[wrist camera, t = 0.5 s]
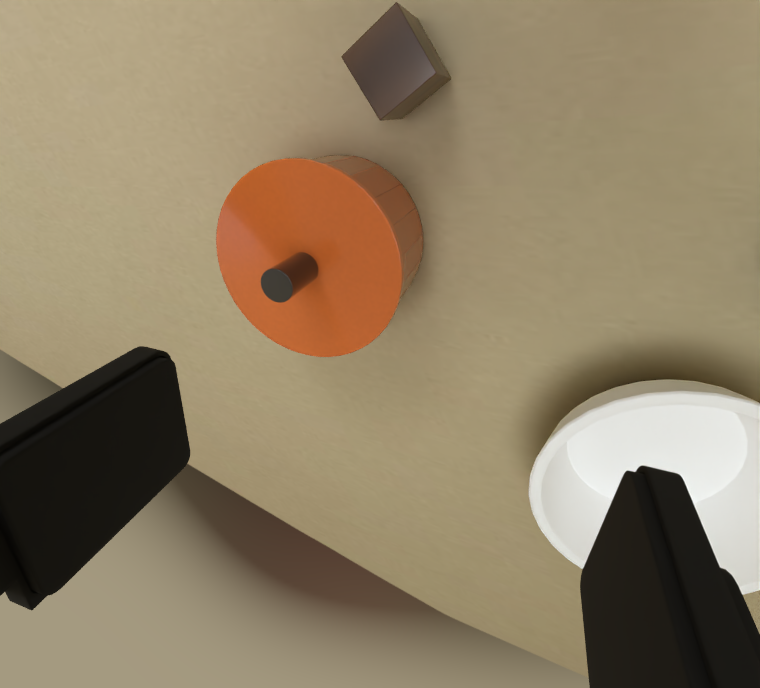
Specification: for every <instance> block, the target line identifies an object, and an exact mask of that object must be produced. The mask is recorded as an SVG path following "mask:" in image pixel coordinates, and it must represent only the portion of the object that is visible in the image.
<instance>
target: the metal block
mask: <svg viewBox="0 0 760 688" xmlns="http://www.w3.org/2000/svg"><path fill="white" fill-rule="evenodd" d="M342 59H343V60H344V62H345V64H346V65H347V67H348V69H349V70H350V72H351V74H352V75H353V77H354V78H355V80H356V82H357V83H358V85H359V87H360V88H361V90H362V92H363V93H364V95H365V96H366V98H367V100H368V101H369V103H370V105H371V106H372V108H373V110H374V111H375V113H376V114H377V116H378V118H379V119H380V120H396V119H402V118H404V117H405V116H406V115H407V114H409V113H410V112H411V111H412V110H413V109H415V108H416V107H417V106H418V105H420V104H421V103H422V102H423V101H425V100H426V99H427V98H428V97H429V96H431V95H432V94H433V93H434V92H436V91H437V90H438V89H439V88H440V87H442V86H443V85H444V84H445V83H447V82H448V81H449V80H450V79H451V77H450V75H449V73H448V72H447V70H446V68H445V66H444V64H443V63H442V61H441V59H440V57H439V56H438V54H437V52H436V50H435V48H434V47H433V45H432V43H431V41H430V39H429V38H428V36H427V34H426V32H425V30H424V29H423V27H422V25H421V23H420V22H419V20H418V18H416V17H415V16H414V15H412V14H411V13H410V12H409V11H407V10H406V9H405V8H404V7H402V6H401V5H400V4H398V3H397V2H396V3H395V4H394V5H393V6H392V7H391V8H390V9H389V10H388V11H387V12H386V13H385V14H384V15H383V16H382V17H381V18H380V19H379V20H378V21H377V22H376V23H375V24H374V25H373V26H372V27H371V28H370V29H369V30H368V31H367V32H366V33H365V34H364V35H363V36H362V37H361V38H360V39H359V40H358V41H357V42H356V43H354V44H353V45H352V46H351V47H350V48H349V49H348V50H347V51H346V52H345V53H344V54H343V55H342Z"/></svg>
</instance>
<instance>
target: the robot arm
mask: <svg viewBox="0 0 760 688" xmlns="http://www.w3.org/2000/svg"><path fill="white" fill-rule="evenodd" d="M189 458H190V447H189V441H188V436H187V430H186V424H185V418H184V413H183V407H182V401H181V395H180V390H179V384H178V378H177V372H176V367H175V363H174V362H173V361H172V360H171V358H170V356H169V354H168V353H166V352H164V351H161V350H157V349H152V348H148V347H141V346H140V347H137V348H135V349H133V350H131V351H129V352H127V353H126V354H124V355H122V356H120V357H119V358H117V359H115V360H113V361H111V362H110V363H108V364H106V365H104V366H103V367H101V368H99V369H97V370H95V371H94V372H92V373H90V374H88V375H86V376H85V377H83V378H81V379H79V380H78V381H76V382H74V383H72V384H70V385H69V386H67V387H65V388H63V389H62V390H60V391H58V392H56V393H54V394H53V395H51V396H49V397H48V398H46V399H44V400H42V401H40V402H38V403H37V404H35V405H33V406H31V407H30V408H28V409H26V410H24V411H22V412H21V413H19V414H17V415H15V416H13V417H12V418H10V419H8V420H6V421H5V422H3V423H1V424H0V595H2V594H3V593H4V592H6V594H7V596H8V598H9V600H10V601H12V602H14V603H16V604H18V605H21V606H23V607H26V608H27V609H30V610H33V609H34V608H35V607H36V606H37V605H38V604H39V603H40V602H41V601H42V600H43V599H44V598H45V597H46V596H47V595H52V594H53V593H55V592H57V591H58V590H59V589H61V588H62V587H63V586H64V585H65V584H66V583H67V582H68V581H69V580H70V579H71V578H72V577H73V576H74V575H75V574H76V573H77V572H78V571H79V570H80V569H81V568H82V567H83V566H84V565H85V564H86V563H87V562H88V561H89V560H90V559H91V558H92V557H93V556H94V555H95V554H96V553H98V551H100V550H101V549H102V548H103V547H104V546H105V545H106V544H107V543H108V542H109V541H110V540H111V539H112V538H113V537H114V536H115V535H116V534H117V533H118V532H119V531H120V530H121V529H122V528H123V527H124V526H125V525H126V524H127V523H128V522H129V521H130V520H131V519H132V518H133V517H134V516H135V515H136V514H137V513H138V512H139V511H140V510H141V509H142V508H144V506H145V505H147V504H148V503H149V502H150V501H151V500H152V498H153V497H155V496H156V495H157V494H158V493H159V492H160V491H161V490H162V489H163V488H164V487H165V486H166V485H167V484H168V483H169V482H170V481H171V480H172V479H173V478H174V477H175V476H176V475H177V474H178V473H179V472H180V471H181V470H182V469H183V468H184V467H185V466H186V464H187V463H188V461H189ZM580 590H581V601H582V612H583V622H584V633H585V643H586V653H587V664H588V674H589V683H590V688H760V634H759V632H758V630H757V627H756V625H755V623H754V620H753V618H752V616H751V614H750V611H749V609H748V607H747V604H746V602H745V600H744V598H743V595H742V593H741V591H740V589H739V586H738V584H737V583H736V581H735V579H734V578H733V576H732V575H731V574H730V573H729V572H728V571H727V570H726V569H723V568H720V566H719V564H718V562H717V559H716V557H715V554H714V552H713V550H712V547H711V545H710V542H709V540H708V537H707V535H706V533H705V530H704V528H703V525H702V523H701V521H700V518H699V516H698V513H697V511H696V509H695V506H694V504H693V501H692V499H691V497H690V494H689V492H688V489H687V487H686V484H685V482H684V480H683V478H682V477H681V475H679V474H678V473H673V472H669V471H665V470H661V469H657V468H652V467H648V466H644V465H642V466H640V467H639V468H638V469H637V470H636V472H633V471H626V472H625V473H624V475H623V477H622V479H621V481H620V484H619V486H618V488H617V491H616V493H615V495H614V498H613V500H612V502H611V505H610V507H609V509H608V512H607V514H606V516H605V519H604V521H603V523H602V526H601V528H600V530H599V533H598V535H597V537H596V540H595V542H594V544H593V547H592V549H591V551H590V554H589V556H588V558H587V561H586V563H585V565H584V568H583V571H582V575H581V583H580Z"/></svg>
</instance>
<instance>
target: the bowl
mask: <svg viewBox="0 0 760 688" xmlns="http://www.w3.org/2000/svg"><path fill="white" fill-rule="evenodd" d="M642 465H644V466H648V467H652V468H657V469H661V470H665V471H669V472H673V473H678V474H679V475H681V477H682V478H683V480H684V482H685V484H686V487H687V489H688V492H689V494H690V497H691V499H692V501H693V504H694V506H695V509H696V511H697V513H698V516H699V518H700V521H701V523H702V525H703V528H704V530H705V533H706V535H707V537H708V540H709V542H710V545H711V547H712V550H713V552H714V554H715V557H716V559H717V562H718V564H719V566H720V568H723V569H726V570H727V571H728V572H729V573H730V574H731V575H732V576H733V578H734V579H735V581H736V583H737V584H738V586H739V589H740V591H741V593H742V595H743V594H748V593H751V592H755V591H758V590H760V403H759V402H757V401H755V400H752V399H750V398H748V397H746V396H743V395H741V394H738V393H736V392H733V391H731V390H728V389H726V388H723V387H720V386H715V385H711V384H706V383H702V382H697V381H686V380H671V379H664V380H652V381H640V382H636V383H631V384H627V385H623V386H618V387H614V388H612V389H610V390H607V391H605V392H602V393H600V394H597V395H595V396H593V397H591V398H589V399H588V400H586V401H584V402H583V403H581V404H580V405H578V406H576V407H575V408H574V409H573V410H572V411H570V412H569V413H568V414H567V415H566V416H565V417H564V418H563V419H562V420H561V421H560V422H559V424H558V425H557V427H556V428H555V429H554V431H553V432H552V434H551V435H550V437H549V438H548V440H547V442H546V443H545V445H544V446H543V448H542V450H541V451H540V453H539V454H538V456H537V458H536V460H535V463H534V466H533V468H532V471H531V474H530V480H529V499H530V504H531V509H532V513H533V515H534V517H535V519H536V521H537V523H538V526H539V528H540V529H541V531H542V532H543V533H544V535H545V536H546V537H547V539H548V540H549V541H550V543H551V544H552V545H553V546H554V547H555V548H556V549H557V550H558V551H559V552H560V553H561V554H563V555H564V556H565V557H566V558H567V559H568V560H569V561H571V562H572V563H574V564H575V565H577V566H578V567H580V568H582V569H583V568H584V565H585V563H586V561H587V558H588V556H589V554H590V551H591V549H592V547H593V544H594V542H595V540H596V537H597V535H598V533H599V530H600V528H601V526H602V523H603V521H604V519H605V516H606V514H607V512H608V509H609V507H610V505H611V502H612V500H613V498H614V495H615V493H616V491H617V488H618V486H619V484H620V481H621V479H622V477H623V475H624V473H625V472H626V471H633V472H636V470H637V469H638V468H639V467H640V466H642Z"/></svg>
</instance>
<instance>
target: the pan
mask: <svg viewBox="0 0 760 688" xmlns="http://www.w3.org/2000/svg"><path fill="white" fill-rule="evenodd" d="M313 160H317V161H321V162H324V163H327V164H330V165H332V166H334V167H336V168H339V169H341V170H343V171H344V172H346V173H347V174H349V175H350V176H352V177H354V178H355V179H356V180H357V181H359V182H360V183H361V184H362V185H363V186H365V187H366V188H367V189H368V191H369V192H370V193H371V194H372V195H373V196H374V197H375V198H376V199H377V201H378V202H379V203H380V205H381V206H382V207H383V209H384V210H385V212H386V214H387V215H388V217H389V219H390V221H391V223H392V225H393V227H394V230H395V232H396V234H397V237H398V240H399V244H400V248H401V251H402V258H403V268H404V280H403V288H402V294H401V297H402V296H403V294H404V293H405V292H406V290H407V289H408V288H409V286H410V285H411V284H412V282H413V280H414V277H415V275H416V273H417V271H418V268H419V265H420V262H421V258H422V251H423V232H422V225H421V221H420V217H419V214H418V211H417V209H416V206H415V204H414V202H413V200H412V198H411V197H410V195H409V193H408V192H407V191H406V189H405V188H404V186H403V185H402V184H401V183H400V182H399V181H398V180H397V179H396V178H395V177H394V176H393V175H392V174H391V173H390V172H388V171H387V170H386V169H384V168H383V167H381V166H379V165H378V164H376V163H374V162H371V161H369V160H367V159H363V158H360V157H356V156H349V155H329V156H324V157H319V158H314V159H313ZM401 297H400V298H401Z"/></svg>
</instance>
